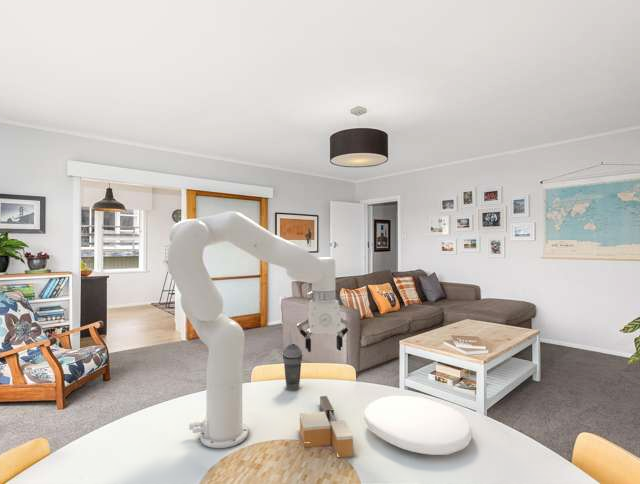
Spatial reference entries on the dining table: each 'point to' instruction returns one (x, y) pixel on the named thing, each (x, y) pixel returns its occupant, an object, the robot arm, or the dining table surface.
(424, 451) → the white round disc
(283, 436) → the dining table surface
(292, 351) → the beverage cup
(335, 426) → the cake slice
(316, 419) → the cake
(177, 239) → the robot arm
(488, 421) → the dining table surface
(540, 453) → the dining table surface
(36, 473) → the dining table surface
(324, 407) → the knife
